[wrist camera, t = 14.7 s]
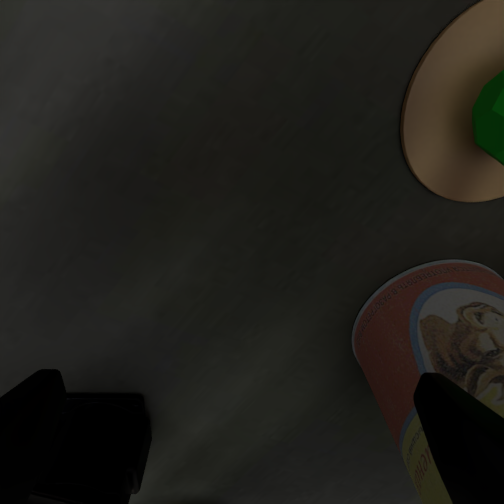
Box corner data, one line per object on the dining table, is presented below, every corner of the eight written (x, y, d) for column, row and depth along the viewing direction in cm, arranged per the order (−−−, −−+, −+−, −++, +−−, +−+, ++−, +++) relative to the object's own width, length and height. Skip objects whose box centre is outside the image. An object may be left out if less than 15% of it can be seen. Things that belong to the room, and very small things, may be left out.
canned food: (504, 232, 20) (809, 397, 9) (514, 354, 25) (723, 554, 14) (331, 297, 22) (424, 501, 11) (372, 400, 27) (464, 610, 16)
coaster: (379, 196, 19) (382, 198, 18) (434, -25, 14) (439, -28, 14) (542, 204, 19) (547, 206, 19) (643, -5, 15) (653, -8, 15)
